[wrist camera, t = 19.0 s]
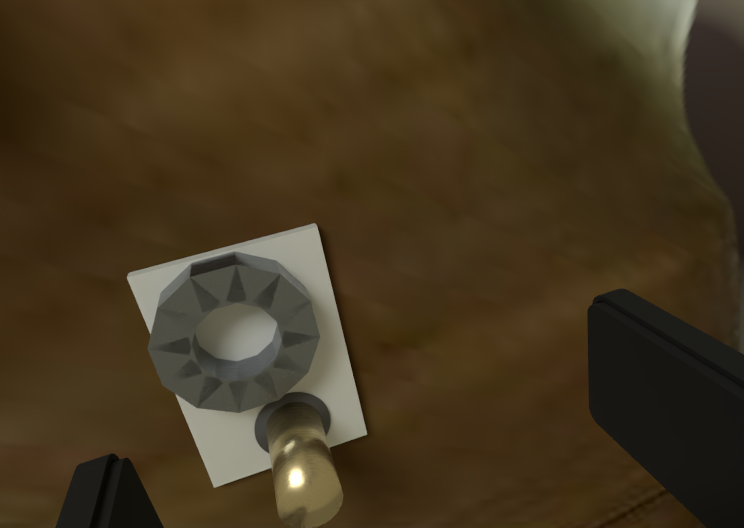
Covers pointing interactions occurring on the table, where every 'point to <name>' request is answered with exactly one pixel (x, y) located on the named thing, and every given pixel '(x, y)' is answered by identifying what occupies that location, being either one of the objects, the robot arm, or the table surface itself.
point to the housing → (226, 377)
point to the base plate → (248, 338)
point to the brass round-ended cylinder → (302, 467)
